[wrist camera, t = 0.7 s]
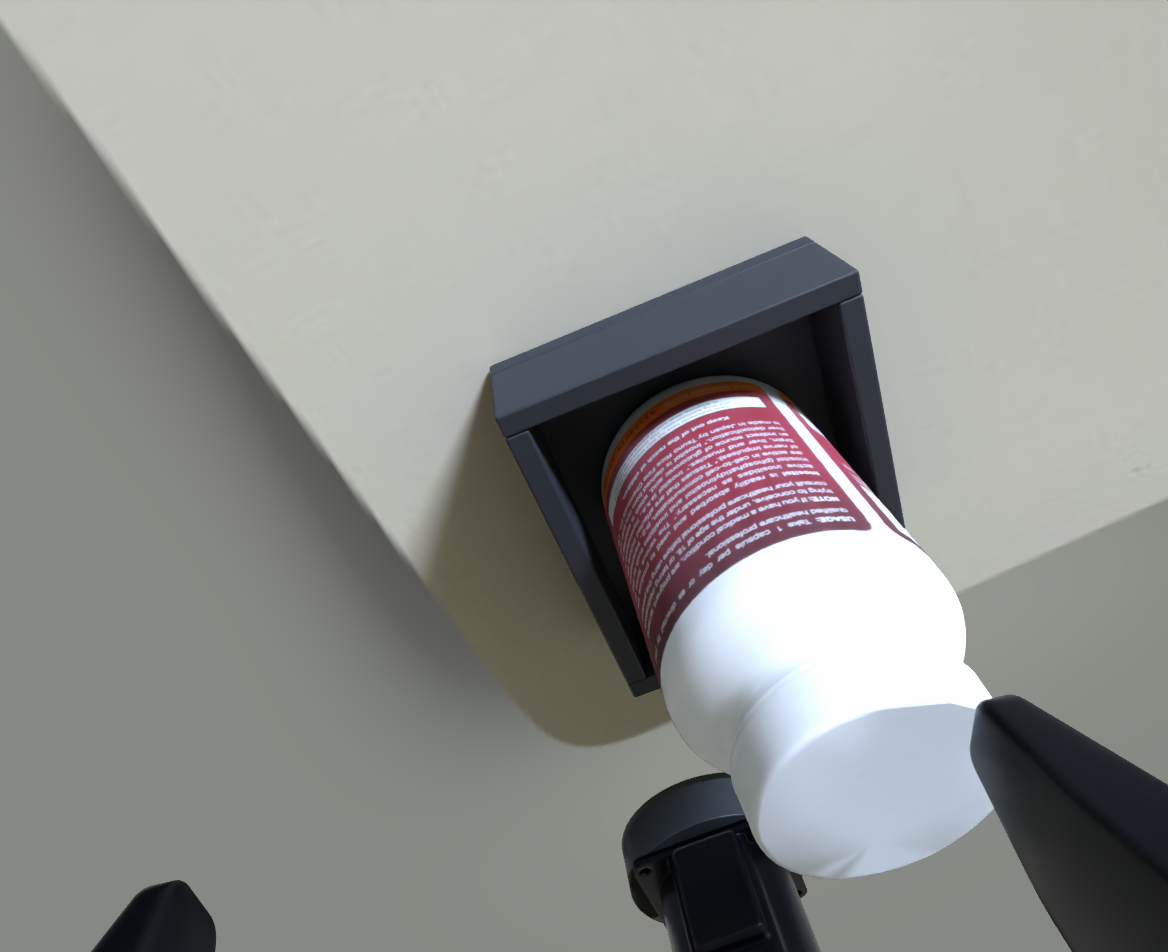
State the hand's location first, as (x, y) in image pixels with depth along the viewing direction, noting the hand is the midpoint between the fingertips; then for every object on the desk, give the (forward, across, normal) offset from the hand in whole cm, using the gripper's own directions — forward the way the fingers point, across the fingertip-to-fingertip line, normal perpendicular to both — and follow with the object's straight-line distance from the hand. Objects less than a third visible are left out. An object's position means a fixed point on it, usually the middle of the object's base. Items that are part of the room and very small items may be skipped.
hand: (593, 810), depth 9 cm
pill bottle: (+13, -5, +4) cm, 15 cm away
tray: (+14, -5, +4) cm, 15 cm away
